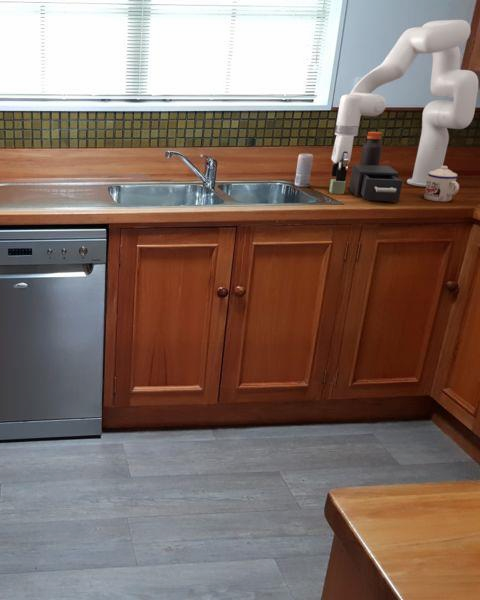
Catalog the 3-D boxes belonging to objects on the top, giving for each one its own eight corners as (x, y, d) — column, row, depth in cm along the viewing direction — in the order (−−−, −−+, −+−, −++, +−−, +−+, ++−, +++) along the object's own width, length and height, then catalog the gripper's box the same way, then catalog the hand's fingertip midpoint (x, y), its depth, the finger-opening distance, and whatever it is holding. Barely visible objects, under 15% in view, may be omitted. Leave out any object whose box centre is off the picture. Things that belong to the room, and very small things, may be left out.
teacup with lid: (416, 197, 218) (423, 164, 214) (437, 195, 221) (444, 163, 216) (443, 204, 208) (451, 170, 203) (464, 203, 210) (473, 169, 206)
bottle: (353, 185, 237) (362, 132, 230) (359, 182, 242) (368, 130, 235) (371, 187, 233) (381, 134, 226) (377, 184, 238) (387, 132, 230)
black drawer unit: (402, 204, 204) (406, 183, 201) (365, 203, 206) (369, 181, 203) (389, 193, 220) (393, 173, 217) (355, 191, 223) (359, 171, 220)
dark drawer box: (393, 198, 216) (399, 173, 213) (356, 197, 219) (360, 171, 215) (384, 190, 229) (389, 165, 226) (348, 188, 232) (352, 164, 228)
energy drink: (307, 184, 238) (311, 153, 234) (310, 187, 233) (315, 155, 229) (293, 184, 239) (297, 153, 234) (296, 187, 234) (300, 155, 229)
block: (329, 190, 228) (331, 179, 226) (341, 191, 227) (343, 179, 225) (331, 193, 224) (333, 181, 222) (344, 194, 223) (346, 181, 221)
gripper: (331, 127, 225) (323, 173, 232) (339, 133, 210) (330, 182, 216) (353, 128, 224) (344, 175, 230) (362, 134, 208) (353, 183, 215)
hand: (338, 178), depth 223 cm, fingers open, 9 cm apart
